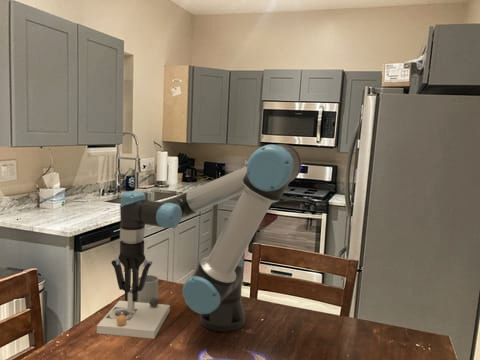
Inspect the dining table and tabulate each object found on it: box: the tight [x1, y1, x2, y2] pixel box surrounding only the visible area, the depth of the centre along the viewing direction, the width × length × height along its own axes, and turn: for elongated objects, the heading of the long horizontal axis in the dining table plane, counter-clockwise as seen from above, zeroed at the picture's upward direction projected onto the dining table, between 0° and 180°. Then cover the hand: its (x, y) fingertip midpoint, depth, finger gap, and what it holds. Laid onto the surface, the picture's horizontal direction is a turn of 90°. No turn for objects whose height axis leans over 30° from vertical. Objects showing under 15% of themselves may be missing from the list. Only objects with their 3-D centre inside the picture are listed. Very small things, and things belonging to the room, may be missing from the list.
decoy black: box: [149, 298, 159, 307], centre depth 138 cm, size 3×3×3 cm
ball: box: [117, 310, 128, 316], centre depth 132 cm, size 4×4×4 cm
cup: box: [130, 274, 159, 303], centre depth 147 cm, size 7×10×9 cm
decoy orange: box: [117, 315, 127, 325], centre depth 125 cm, size 3×3×3 cm
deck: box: [96, 300, 171, 340], centre depth 132 cm, size 18×18×2 cm
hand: (131, 310), depth 132 cm, fingers closed
